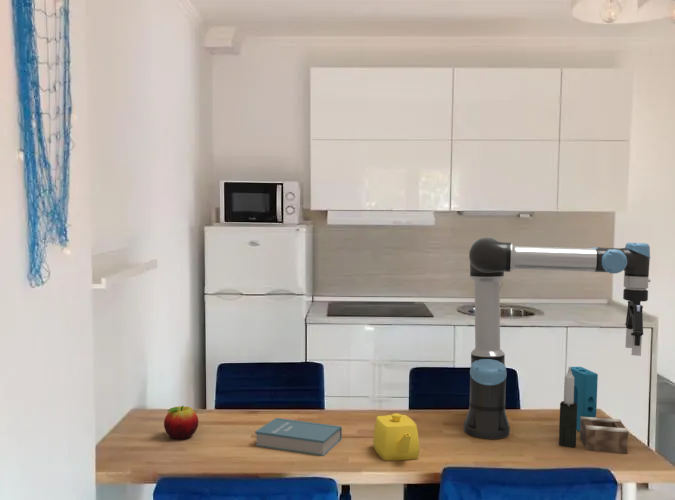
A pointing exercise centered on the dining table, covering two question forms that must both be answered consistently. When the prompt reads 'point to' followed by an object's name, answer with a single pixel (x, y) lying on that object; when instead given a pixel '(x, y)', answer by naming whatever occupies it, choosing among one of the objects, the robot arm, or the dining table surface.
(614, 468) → the dining table surface
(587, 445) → the holder
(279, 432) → the book
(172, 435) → the fruit
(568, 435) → the grey and black rod
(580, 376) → the block
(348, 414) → the dining table surface
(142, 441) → the dining table surface
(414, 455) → the teapot
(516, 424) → the dining table surface
